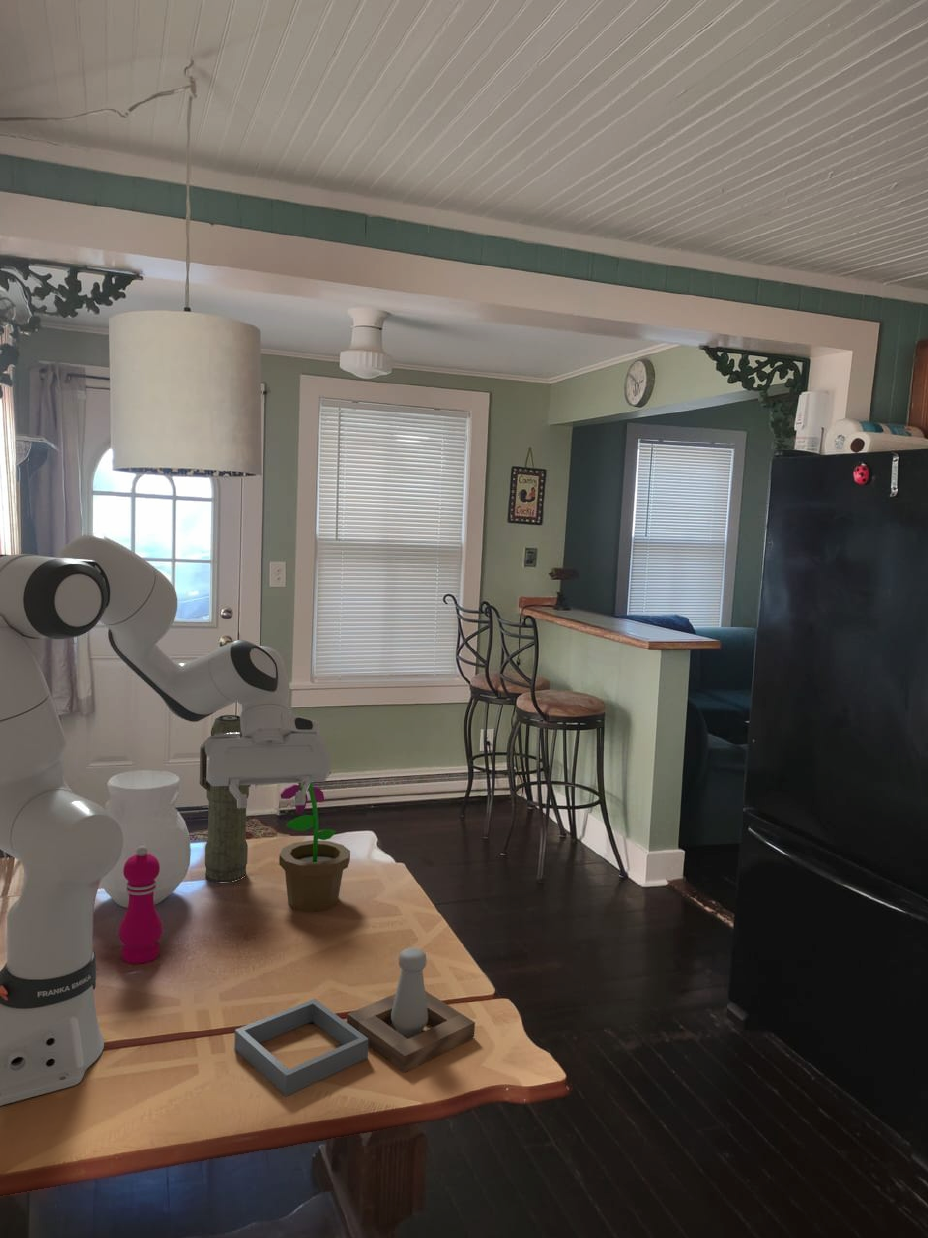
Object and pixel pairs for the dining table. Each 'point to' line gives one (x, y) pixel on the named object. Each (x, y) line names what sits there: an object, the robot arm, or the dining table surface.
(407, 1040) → the brown square frame
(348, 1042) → the blue square frame
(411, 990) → the salt shaker
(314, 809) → the flowerpot
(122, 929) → the pepper mill
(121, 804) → the pitcher
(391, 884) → the dining table surface
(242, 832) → the thermos
